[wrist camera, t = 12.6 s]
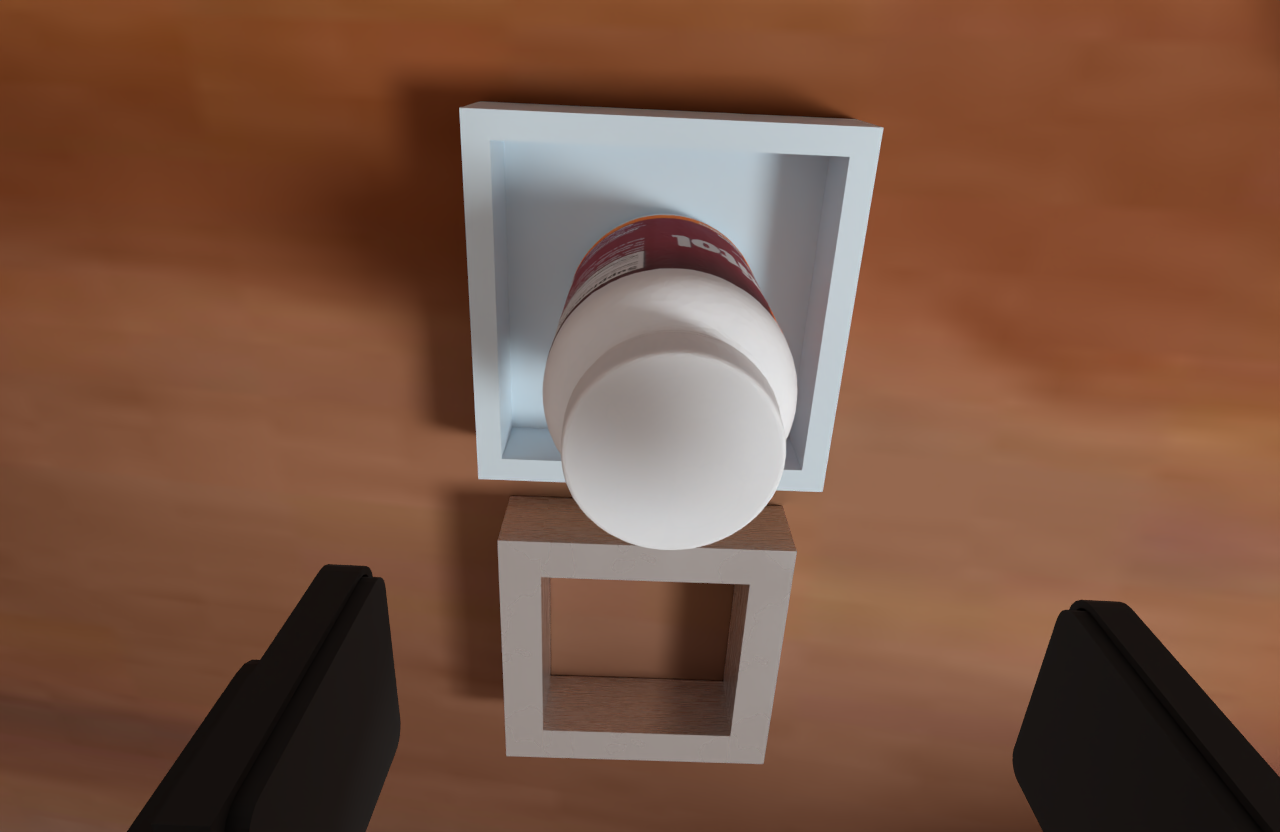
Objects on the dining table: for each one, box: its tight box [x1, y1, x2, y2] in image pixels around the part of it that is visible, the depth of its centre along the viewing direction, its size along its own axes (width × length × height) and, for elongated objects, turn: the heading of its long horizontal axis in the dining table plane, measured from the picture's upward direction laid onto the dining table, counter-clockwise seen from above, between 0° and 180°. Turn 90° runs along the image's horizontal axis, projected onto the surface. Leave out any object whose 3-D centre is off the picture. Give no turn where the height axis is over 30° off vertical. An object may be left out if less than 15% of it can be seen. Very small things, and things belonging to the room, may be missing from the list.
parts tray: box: [459, 101, 883, 492], centre depth 25 cm, size 12×12×3 cm
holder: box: [497, 496, 797, 764], centre depth 31 cm, size 10×10×3 cm
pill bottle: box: [542, 214, 797, 550], centre depth 21 cm, size 6×6×11 cm
